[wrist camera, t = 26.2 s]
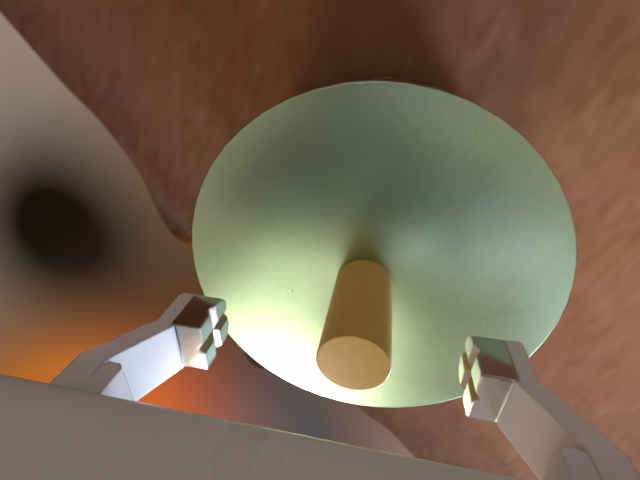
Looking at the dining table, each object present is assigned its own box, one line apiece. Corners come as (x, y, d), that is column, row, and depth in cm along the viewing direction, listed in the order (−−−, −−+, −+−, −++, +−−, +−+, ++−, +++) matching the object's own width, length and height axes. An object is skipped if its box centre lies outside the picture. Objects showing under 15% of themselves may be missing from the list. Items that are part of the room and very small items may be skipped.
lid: (433, -38, 10) (466, -120, 6) (627, 321, 15) (745, 457, 10) (141, 222, 17) (38, 290, 12) (333, 418, 21) (314, 528, 16)
